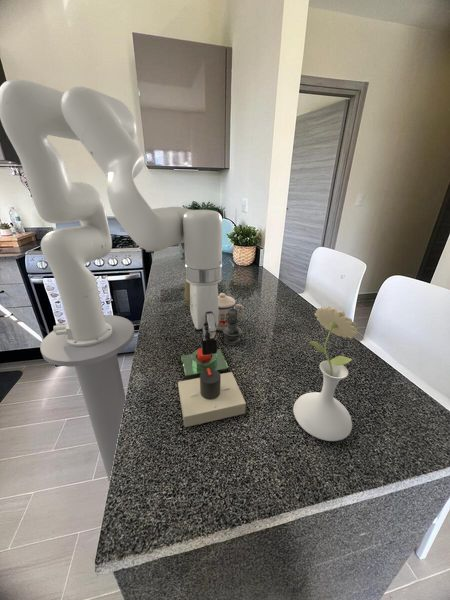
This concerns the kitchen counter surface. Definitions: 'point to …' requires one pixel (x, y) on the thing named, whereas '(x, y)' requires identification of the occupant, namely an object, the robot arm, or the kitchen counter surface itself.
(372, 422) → the kitchen counter surface
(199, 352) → the button
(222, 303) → the teacup with lid
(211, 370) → the knob
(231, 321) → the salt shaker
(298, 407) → the flower in vase
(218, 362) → the button box
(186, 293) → the squeeze bottle
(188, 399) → the panel
